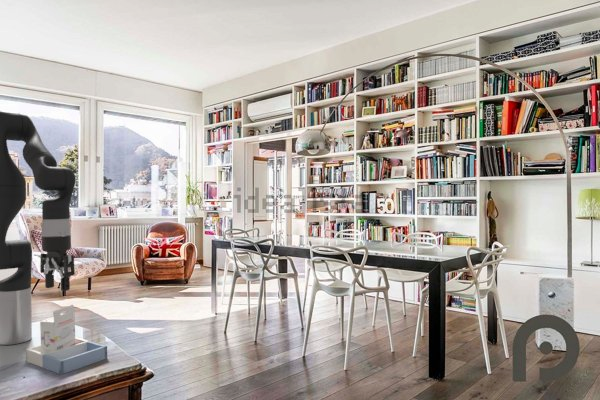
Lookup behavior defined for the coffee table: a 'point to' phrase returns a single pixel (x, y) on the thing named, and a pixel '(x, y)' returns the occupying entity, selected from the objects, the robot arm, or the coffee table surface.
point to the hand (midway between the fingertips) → (57, 289)
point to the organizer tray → (67, 356)
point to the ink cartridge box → (58, 330)
